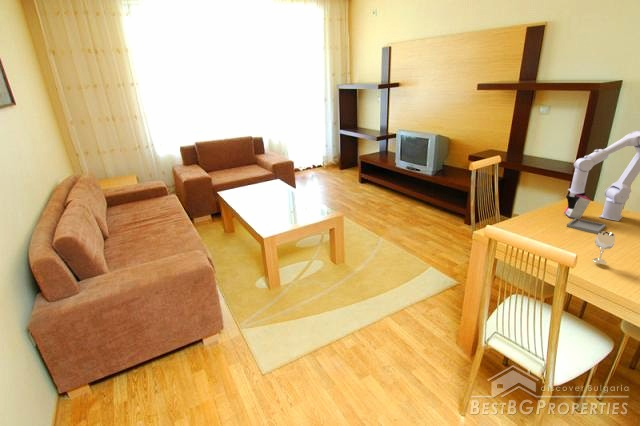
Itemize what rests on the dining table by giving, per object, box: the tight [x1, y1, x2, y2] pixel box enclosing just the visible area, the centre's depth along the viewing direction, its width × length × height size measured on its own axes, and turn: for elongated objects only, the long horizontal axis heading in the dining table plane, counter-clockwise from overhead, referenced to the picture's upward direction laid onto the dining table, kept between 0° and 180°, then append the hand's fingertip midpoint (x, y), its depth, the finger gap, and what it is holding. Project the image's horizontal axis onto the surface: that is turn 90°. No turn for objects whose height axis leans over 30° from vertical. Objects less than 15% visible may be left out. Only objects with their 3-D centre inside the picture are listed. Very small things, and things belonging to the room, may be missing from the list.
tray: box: [566, 218, 607, 235], centre depth 167 cm, size 13×13×2 cm
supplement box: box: [563, 194, 591, 219], centre depth 177 cm, size 6×6×12 cm
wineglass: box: [592, 230, 616, 265], centre depth 133 cm, size 6×6×12 cm
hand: (573, 206), depth 178 cm, fingers open, 7 cm apart
